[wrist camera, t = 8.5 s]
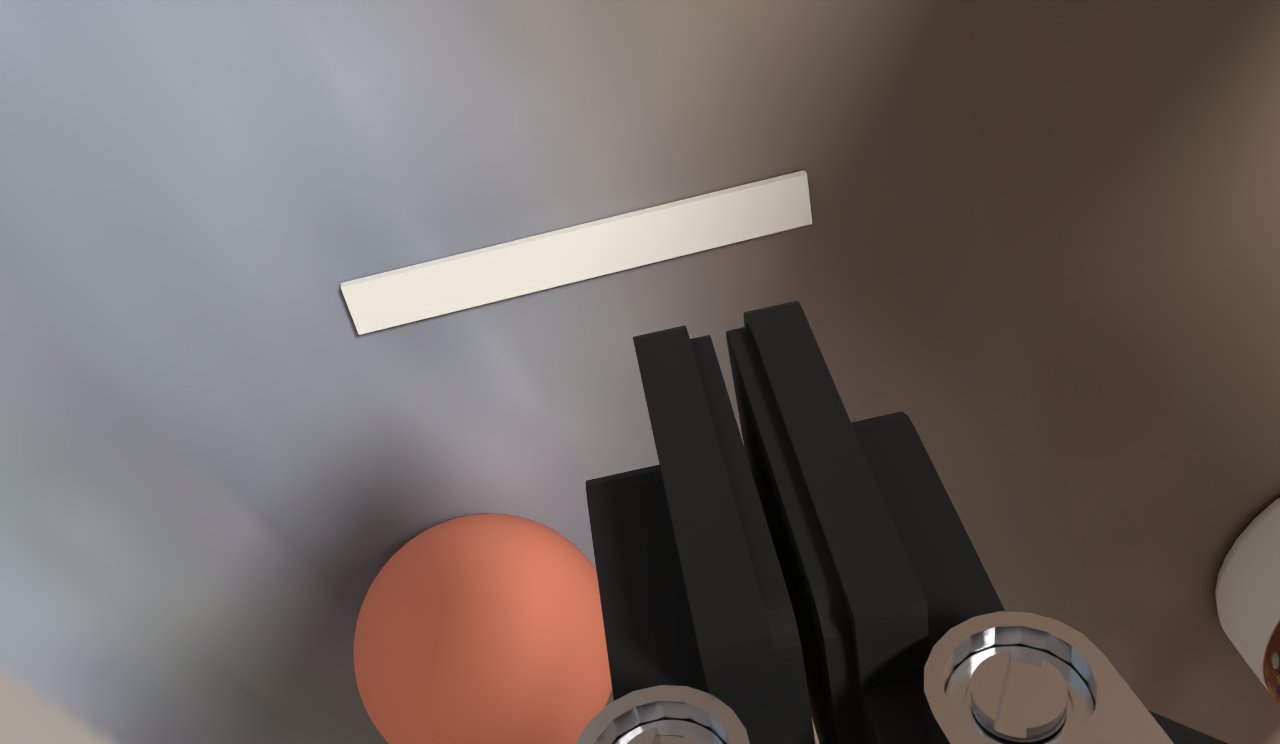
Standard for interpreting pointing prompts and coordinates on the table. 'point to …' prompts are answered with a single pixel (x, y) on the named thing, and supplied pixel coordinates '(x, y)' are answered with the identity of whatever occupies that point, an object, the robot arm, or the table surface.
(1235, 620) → the milk bottle
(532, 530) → the ball
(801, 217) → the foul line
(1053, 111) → the table surface
